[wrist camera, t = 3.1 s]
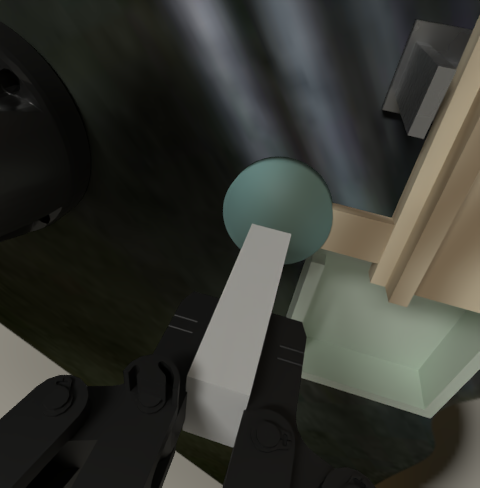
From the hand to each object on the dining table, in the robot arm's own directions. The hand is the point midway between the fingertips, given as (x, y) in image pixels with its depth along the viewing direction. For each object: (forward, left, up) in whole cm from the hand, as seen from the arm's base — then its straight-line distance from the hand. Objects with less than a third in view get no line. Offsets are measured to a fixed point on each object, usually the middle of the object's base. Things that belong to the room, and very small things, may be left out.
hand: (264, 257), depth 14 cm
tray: (+8, -9, -10) cm, 16 cm away
